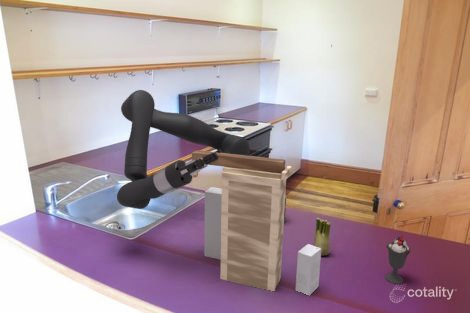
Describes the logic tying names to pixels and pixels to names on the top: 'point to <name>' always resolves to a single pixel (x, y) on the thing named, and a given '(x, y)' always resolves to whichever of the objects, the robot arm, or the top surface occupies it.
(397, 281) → the sundae
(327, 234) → the fennel bulb
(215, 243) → the grey pedestal
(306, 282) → the skincare box
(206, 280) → the top surface
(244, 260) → the birch shelf
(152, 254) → the top surface
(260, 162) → the walnut bar
